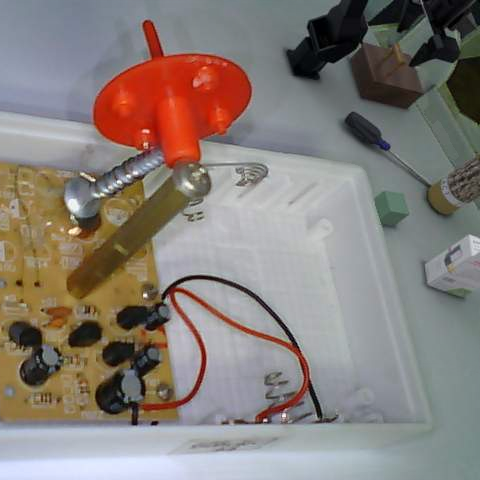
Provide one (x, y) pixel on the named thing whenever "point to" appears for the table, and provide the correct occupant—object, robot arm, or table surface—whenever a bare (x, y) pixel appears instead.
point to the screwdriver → (374, 137)
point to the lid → (391, 68)
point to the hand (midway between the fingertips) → (404, 49)
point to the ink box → (456, 268)
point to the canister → (456, 188)
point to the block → (391, 207)
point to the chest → (378, 86)
